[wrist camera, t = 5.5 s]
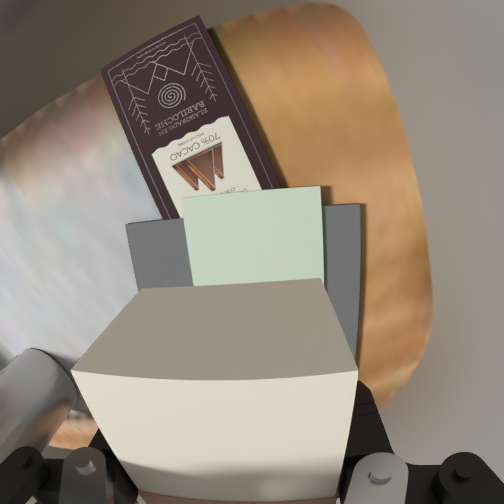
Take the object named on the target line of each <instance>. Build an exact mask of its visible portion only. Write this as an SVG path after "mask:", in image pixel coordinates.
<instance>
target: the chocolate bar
mask: <svg viewBox="0 0 504 504" xmlns="http://www.w3.org/2000/svg"><path fill="white" fill-rule="evenodd" d="M101 73H102V76H103V78H104V81H105V84H106V86H107V89H108V92H109V94H110V97H111V100H112V102H113V105H114V107H115V110H116V112H117V115H118V117H119V120H120V122H121V125H122V127H123V130H124V132H125V135H126V137H127V139H128V142H129V144H130V147H131V149H132V151H133V154H134V156H135V158H136V161H137V163H138V165H139V167H140V170H141V172H142V174H143V177H144V179H145V181H146V183H147V185H148V188H149V190H150V192H151V194H152V197H153V199H154V201H155V203H156V205H157V207H158V209H159V212H160V214H161V216H162V218H163V220H169V219H178V218H183V211H182V203H181V198H187V197H196V196H205V195H214V194H224V193H234V192H245V191H256V190H268V189H281V186H280V184H279V182H278V179H277V177H276V175H275V172H274V170H273V168H272V165H271V163H270V161H269V159H268V156H267V154H266V152H265V150H264V147H263V145H262V143H261V141H260V139H259V136H258V134H257V132H256V130H255V128H254V125H253V123H252V121H251V119H250V117H249V115H248V112H247V110H246V108H245V106H244V104H243V102H242V100H241V98H240V96H239V93H238V91H237V89H236V87H235V85H234V83H233V81H232V79H231V77H230V75H229V73H228V71H227V69H226V67H225V65H224V63H223V61H222V59H221V57H220V55H219V53H218V51H217V49H216V47H215V45H214V43H213V41H212V39H211V37H210V35H209V33H208V31H207V30H206V28H205V26H204V24H203V22H202V20H201V18H200V17H199V16H196V17H194V18H192V19H190V20H188V21H185V22H183V23H181V24H179V25H177V26H175V27H173V28H171V29H169V30H167V31H165V32H163V33H161V34H159V35H158V36H156V37H154V38H152V39H150V40H148V41H147V42H145V43H143V44H141V45H140V46H138V47H136V48H134V49H133V50H131V51H129V52H128V53H126V54H125V55H123V56H121V57H120V58H118V59H117V60H115V61H114V62H112V63H110V64H109V65H107V66H106V67H104V68H103V69H101Z"/></svg>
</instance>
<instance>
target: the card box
mask: <svg viewBox="0 0 504 504" xmlns="http://www.w3.org/2000/svg"><path fill="white" fill-rule="evenodd" d="M71 373H72V375H73V377H74V379H75V382H76V384H77V386H78V388H79V390H80V392H81V394H82V396H83V398H84V400H85V402H86V404H87V406H88V408H89V410H90V412H91V414H92V416H93V418H94V419H95V421H96V423H97V425H98V427H99V429H100V430H101V432H102V434H103V436H104V437H105V439H106V441H107V442H108V444H109V446H110V447H111V449H112V451H113V452H114V454H115V455H116V457H117V458H118V460H119V462H120V463H121V465H122V466H123V468H124V469H125V471H126V472H127V474H128V475H129V477H130V478H131V479H132V481H133V482H134V484H135V485H136V486H137V488H138V493H139V494H140V496H141V497H142V498H143V500H144V501H145V502H146V503H147V504H336V500H337V493H336V490H337V486H338V482H339V478H340V474H341V469H342V465H343V460H344V455H345V451H346V446H347V441H348V435H349V430H350V424H351V418H352V412H353V406H354V400H355V393H356V386H357V378H358V368H357V365H356V363H355V360H354V358H353V355H352V352H351V350H350V347H349V345H348V342H347V340H346V337H345V335H344V332H343V330H342V328H341V325H340V323H339V320H338V318H337V315H336V313H335V311H334V308H333V306H332V303H331V301H330V299H329V296H328V294H327V292H326V289H325V287H324V285H323V282H322V280H321V278H311V279H298V280H285V281H271V282H256V283H241V284H224V285H206V286H187V287H166V288H142V289H141V290H140V291H139V292H138V293H137V294H136V296H135V297H134V298H133V299H132V300H131V301H130V302H129V303H128V304H127V305H126V307H125V308H124V309H123V310H122V311H121V312H120V313H119V314H118V315H117V317H116V318H115V319H114V320H113V321H112V322H111V323H110V324H109V326H108V327H107V328H106V329H105V330H104V331H103V332H102V334H101V335H100V336H99V337H98V338H97V339H96V340H95V342H94V343H93V344H92V345H91V346H90V347H89V349H88V350H87V351H86V352H85V353H84V354H83V356H82V357H81V358H80V359H79V360H78V362H77V363H76V364H75V365H74V366H73V368H72V369H71Z"/></svg>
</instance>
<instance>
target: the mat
mask: <svg viewBox="0 0 504 504" xmlns="http://www.w3.org/2000/svg"><path fill="white" fill-rule="evenodd" d="M181 203H182V211H183V218H178V219H169V220H163V219H161V220H152V221H143V222H135V223H128V224H126V225H125V226H126V231H127V237H128V243H129V248H130V253H131V258H132V263H133V268H134V273H135V278H136V282H137V287H138V291H140V290H141V289H142V288H166V287H187V286H206V285H224V284H241V283H256V282H271V281H285V280H298V279H311V278H321V280H322V282H323V285H324V287H325V289H326V292H327V294H328V296H329V299H330V301H331V303H332V306H333V308H334V311H335V313H336V315H337V318H338V320H339V323H340V325H341V328H342V330H343V332H344V335H345V337H346V340H347V342H348V345H349V347H350V350H351V352H352V355H353V358H354V360H355V354H356V343H357V330H358V315H359V296H360V262H361V224H360V204H358V203H353V204H335V205H321V191H320V186H311V187H295V188H281V189H268V190H256V191H245V192H234V193H224V194H214V195H205V196H196V197H187V198H181Z"/></svg>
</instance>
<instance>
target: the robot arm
mask: <svg viewBox="0 0 504 504" xmlns="http://www.w3.org/2000/svg"><path fill="white" fill-rule="evenodd" d="M76 402H77V391H76V388H75V386H74V383H73V382H72V380H71V378H70V377H69V375H68V374H67V373H66V371H65V370H64V369H63V368H62V367H61V366H60V365H59V364H58V363H57V362H56V361H55V360H54V359H52V358H51V357H50V356H48V355H47V354H45V353H43V352H42V351H39V350H36V349H27V350H25V351H24V352H23V353H21V354H20V355H19V356H16V357H15V358H14V359H12V360H11V361H10V362H9V363H8V364H7V365H6V366H5V367H4V368H3V369H2V370H1V371H0V504H25V503H26V502H27V501H28V500H29V499H30V498H31V497H32V496H33V497H34V498H35V499H36V500H37V502H36V503H35V504H138V502H137V497H138V494H139V493H138V488H137V486H136V485H135V484H134V482H133V481H132V479H131V478H130V477H129V475H128V474H127V472H126V471H125V469H124V468H123V466H122V465H121V463H120V462H119V460H118V458H117V457H116V455H115V454H114V452H113V451H112V449H111V447H110V446H109V444H108V442H107V441H106V439H105V437H104V436H103V434H102V432H101V430H100V429H99V428H98V430H97V432H96V434H95V435H94V437H93V439H92V441H91V443H90V444H89V446H88V447H81V448H78V449H75V450H73V451H72V452H71V453H69V454H68V455H67V457H66V458H65V459H45V458H44V457H43V456H42V455H41V454H42V453H43V451H44V450H45V448H46V447H47V445H48V444H49V442H50V441H51V439H52V438H53V436H54V435H55V433H56V432H57V430H58V429H59V427H60V426H61V424H62V423H63V421H64V420H65V418H66V417H67V415H68V414H69V413H70V411H71V410H72V408H73V407H74V405H75V404H76ZM336 493H337V498H340V503H341V504H504V483H503V482H502V481H501V480H500V479H499V478H498V477H497V476H496V474H495V473H494V472H493V471H492V470H491V469H490V468H489V467H488V465H487V464H486V463H485V462H484V461H483V460H482V459H481V458H480V457H479V456H477V455H475V454H473V453H470V452H459V453H455V454H453V455H451V456H449V457H448V458H447V459H445V460H444V462H443V463H442V465H413V464H409V463H406V462H404V461H403V460H402V459H401V458H400V457H398V456H396V455H395V454H394V452H393V450H392V448H391V445H390V443H389V440H388V437H387V434H386V431H385V429H384V426H383V423H382V420H381V417H380V415H379V414H378V409H377V407H376V404H375V403H374V399H373V396H372V394H371V391H370V389H369V388H367V387H366V386H365V385H364V384H363V383H362V382H361V381H357V386H356V393H355V400H354V406H353V412H352V418H351V424H350V430H349V435H348V441H347V446H346V451H345V455H344V460H343V465H342V469H341V474H340V478H339V482H338V486H337V490H336Z"/></svg>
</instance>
